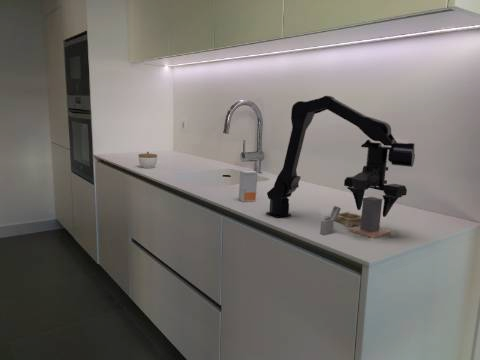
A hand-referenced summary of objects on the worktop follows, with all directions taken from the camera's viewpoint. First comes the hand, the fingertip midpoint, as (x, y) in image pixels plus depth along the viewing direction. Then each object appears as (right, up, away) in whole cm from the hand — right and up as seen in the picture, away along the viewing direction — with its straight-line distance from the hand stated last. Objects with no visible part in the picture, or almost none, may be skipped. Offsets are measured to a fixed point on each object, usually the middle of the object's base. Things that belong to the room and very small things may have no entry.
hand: (371, 213), depth 124 cm
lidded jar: (-95, +17, +112) cm, 148 cm away
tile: (0, -6, +1) cm, 6 cm away
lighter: (-13, -6, -2) cm, 15 cm away
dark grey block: (0, -5, +1) cm, 5 cm away
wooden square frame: (-4, -4, +12) cm, 13 cm away
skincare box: (-38, +2, +37) cm, 53 cm away
